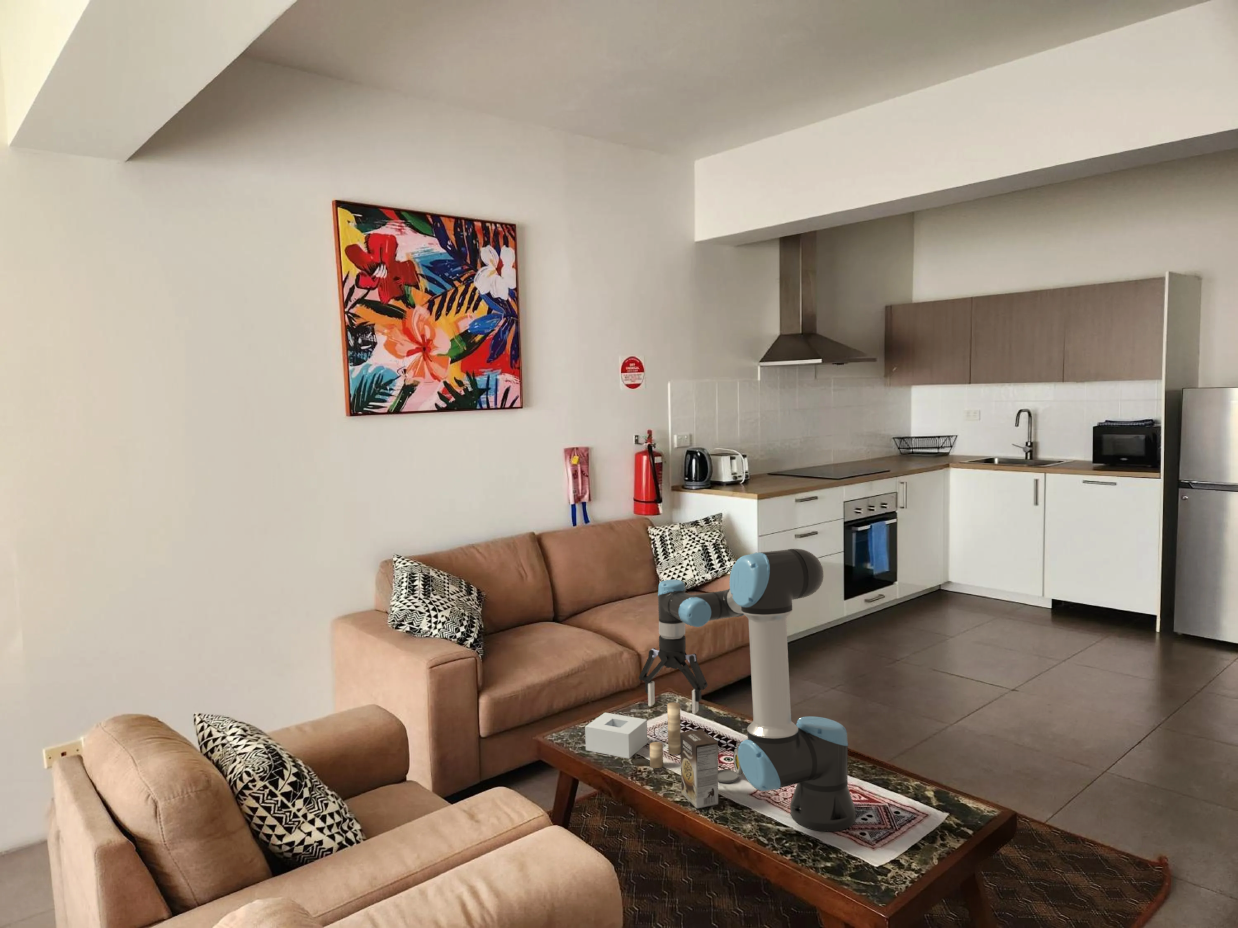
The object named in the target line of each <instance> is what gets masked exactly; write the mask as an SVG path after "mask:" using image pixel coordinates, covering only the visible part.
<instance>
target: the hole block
mask: <svg viewBox="0 0 1238 928" xmlns="http://www.w3.org/2000/svg"><path fill="white" fill-rule="evenodd" d="M584 735H585V739H584V740H585V751H589V752H594V753H599V754H603V755H610V756H614V757H618V758H624V759H630V758H632V757H633V756H634V755H635V754H636V753H637V752H639V751H640V750H641V749H642V748H643V747H644V746H646V745H647V744H648V719H647V718H646V719H645V718H641V717H640V718H639V717H633V716H629V715H621V714H616V713H610V712H603V714H600V716H598V717H597V718H595V719H593V720H592V721H591V722H589V723H588V724H586V726H584Z"/></svg>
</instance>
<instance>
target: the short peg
mask: <svg viewBox="0 0 1238 928" xmlns="http://www.w3.org/2000/svg"><path fill="white" fill-rule="evenodd" d="M649 766H650V768H652V769H655V768H659V769H662V768H663V767H664V744H663V743H662V742H660V741H652V742H650V743H649Z"/></svg>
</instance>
